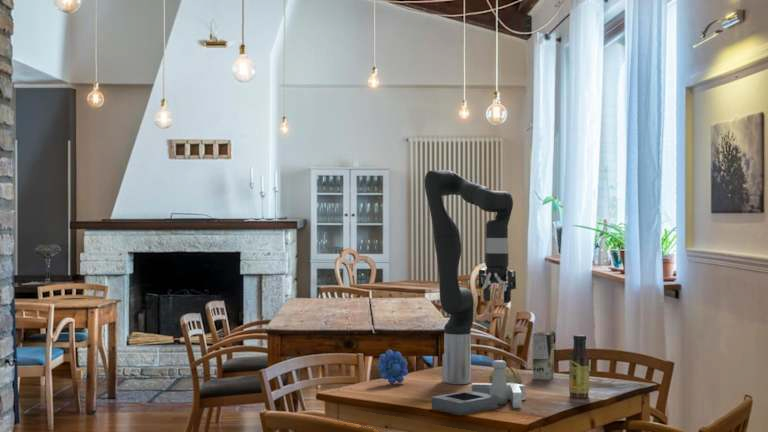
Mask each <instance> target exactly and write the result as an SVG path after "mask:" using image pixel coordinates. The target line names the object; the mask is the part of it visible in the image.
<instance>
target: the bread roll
mask: <svg viewBox="0 0 768 432" xmlns="http://www.w3.org/2000/svg"><path fill="white" fill-rule="evenodd" d="M504 371H505V377H506V383H516V384H521V385H523V379H522V378H523V377H522V375H521V373H520V371H519V370H518V369H516V368H515V367H513V366H506V368H505V369H504ZM493 374H494V369H493V370H492V371H491V372H490V375H489V382H490V383H492V380H493Z"/></svg>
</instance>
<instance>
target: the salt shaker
mask: <svg viewBox="0 0 768 432" xmlns="http://www.w3.org/2000/svg"><path fill="white" fill-rule="evenodd" d="M506 367H507V362H506V361H505V360H501V359H500V360H499V359H496V360H493V361H492V368H493V370H494V374H493V380H492V386H491V391H490V395H494V396H498V405H504V404H507V402H508V401H509V400H508V397H509V393H508V388H507V383H506V377H505V371H504V369H505V368H506Z"/></svg>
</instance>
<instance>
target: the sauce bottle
mask: <svg viewBox="0 0 768 432" xmlns="http://www.w3.org/2000/svg"><path fill="white" fill-rule="evenodd" d="M572 338H573V348H572V350H571V351H572V352H571V354H570V357H569V367H568V369H569V371H568V373H569V374H568V375H569V376H568V380H569V381H568V382H569V383H568V391H569V396H570V397H573V398H574V397H575V398H576V399H584V398H585V397H587V398H588V397H589V394H590V393H589V392H590V356H589V354H588V352H587V350H586V349H587V348H586V346H587V345H586V342H587V335H586V334H580V333H578V334H577V333H576V334H573V337H572ZM585 399H586V398H585Z"/></svg>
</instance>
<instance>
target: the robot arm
mask: <svg viewBox="0 0 768 432" xmlns="http://www.w3.org/2000/svg"><path fill="white" fill-rule="evenodd" d="M424 190H425V194H426V199H427V203H428V207H429V211H430V218H431V223H432V231H433V239H434V248H435V249H434V250H435V254H436V262H437V269H438V280H439V283H438V285H439V301H440V306H441V309H442V310H443V311H444V313H446V314H448V315H450V316H449V320H447V322H446V323H445V324H444V329H443V330H444V334H443V335H444V340H443V341H444V344H443V345H444V346H443V347H444V348H443V349H444V353H443V354H442V355H441V356H442V358H441V359H442V362H441V363H442V366H441V367H442V371H441V372H442V375H441V377H442V382H444V383H446V384H451V385H466V384H470V383H471V382H472V381H471V379H472V378H471V370H472V369H471V368H472V366H471V365H472V362H471V360H472V359H471V357H472V355H471V354H472V353H471V351H472V347H471V345H472V344H471V341H472V340H471V339H472V337H471V336H472V335H471V334H472V333H471V332H472V331H471V330H472V326H473V324H474V310H475V309H474V303H475V301H474V297H473V294H472V292H471V290H470V289H469V288H468V287H465V286H464V287H463V286H460V284H459V278H458V277H459V276H458V269H459V265H460V260H461V255H462V241H461V235H460V234H461V233H460V230H459V228H458V226H457V225H456V222H455V221H454V220H453V219H452V217H451V216H450V215H449V213H448V211H447V210H446V208H445V205H444V201H443V197H445V196H446V197H448V196H451V195H452V196H453V195H454V196H461V198H462V199H463V200H464V201H465V202H466V203H467V204H468V203H469V204H471V205H474V206H477V208H479V209H481V210H482V211H483V212H486V213H487V212H488V213H496V214H495V217H494V218H492V219H490V220H487V222H486V224H485V225H486V226H485V243H484V245H485V246H484V248H485V249H484V250H485V251H484V264H485V267H486V269H485V268H483V269H482V268H480V269H479V270H478V281H477V283H478V284H477V286H478V288H481V289H482V290H483V291H482V292H483V295H482V296H483V301H484V302H490V301H491V289H490V288H491V287H492V285H494V284H499V285H500V286H501V288H502V289H503V303H504V304H509V303H511V299H512V298H511V297H512V296H511V295H512V291H513V290H516V289H517V282H516V281H517V280H516V271H515V270H508V267H509V263H510V262H509V260H510V259H509V256H510V255H509V249H510V248H509V247H510V246H509V240H508V239H509V237H508V236H509V235H508V233H509V231H508V230H509V229H508V226H509V221H510V218H511V215H512V211H513V207H514V200H513V196H512V195H511V194H510V193H511V192H508V191H506V190H491V189H490V188H488V187H487V186H484V185H482V184H478V183H476V182H472V181H469V180H467V179H466V178H464V177H462V176H460V175H459V174H458V173H456V172H454V171H452V170H451V169H450V170H449V169H439V170H438V169H435V170H433V169H432V170H429V171H427V173H425V176H424Z"/></svg>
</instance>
